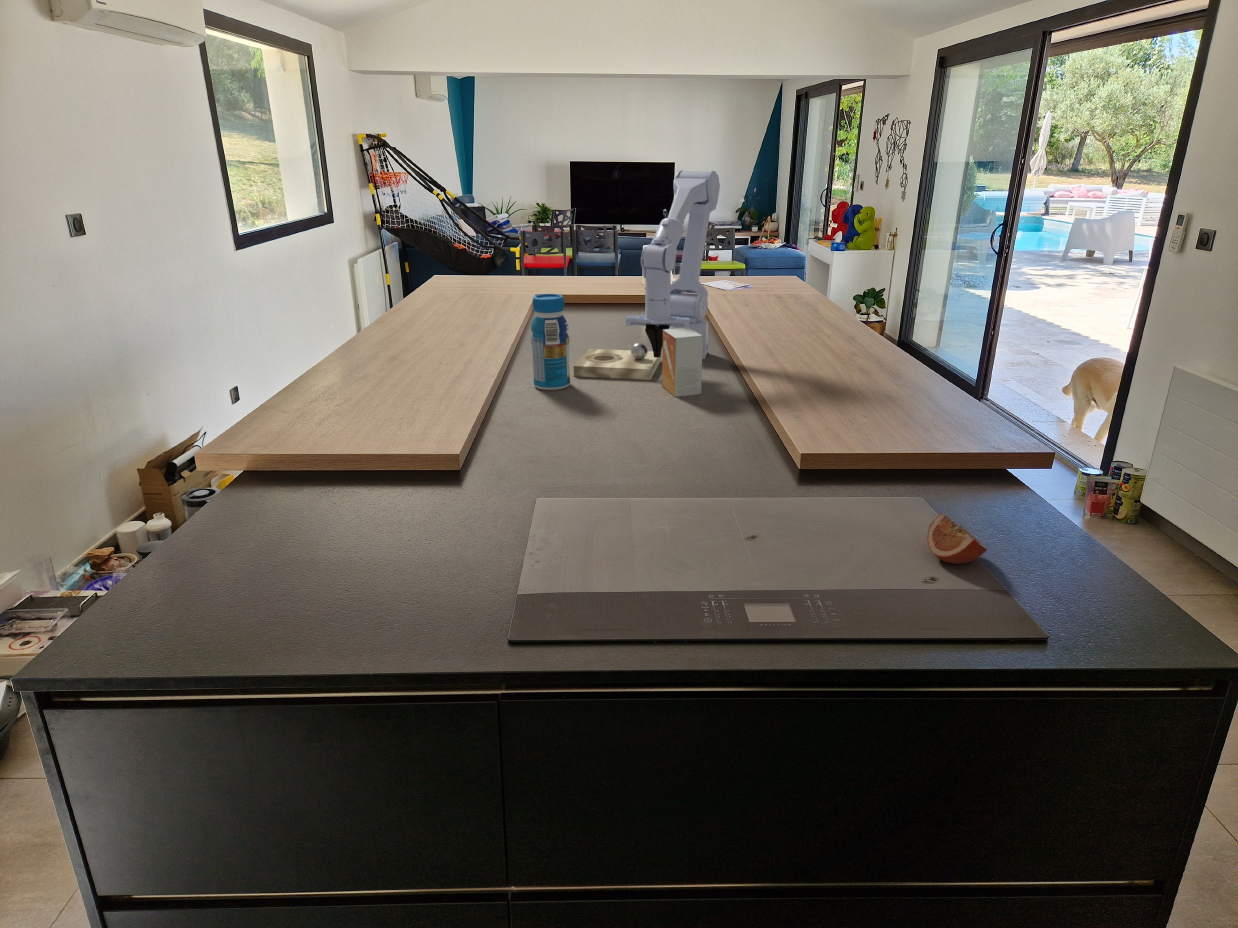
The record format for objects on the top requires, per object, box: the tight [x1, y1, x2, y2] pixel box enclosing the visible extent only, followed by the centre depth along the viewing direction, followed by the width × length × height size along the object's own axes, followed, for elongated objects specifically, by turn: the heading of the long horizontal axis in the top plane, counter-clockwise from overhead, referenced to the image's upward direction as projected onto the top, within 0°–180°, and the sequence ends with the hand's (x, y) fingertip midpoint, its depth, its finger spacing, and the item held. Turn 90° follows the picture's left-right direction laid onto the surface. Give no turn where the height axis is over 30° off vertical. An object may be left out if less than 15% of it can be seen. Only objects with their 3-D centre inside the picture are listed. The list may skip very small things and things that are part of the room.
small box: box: [661, 328, 703, 398], centre depth 175 cm, size 8×6×13 cm
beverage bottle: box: [530, 293, 571, 391], centre depth 178 cm, size 8×8×20 cm
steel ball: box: [630, 342, 649, 360], centre depth 192 cm, size 4×4×4 cm
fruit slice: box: [926, 512, 988, 565], centre depth 107 cm, size 8×7×5 cm
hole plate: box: [573, 348, 662, 381], centre depth 194 cm, size 18×16×2 cm
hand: (657, 356), depth 191 cm, fingers closed
